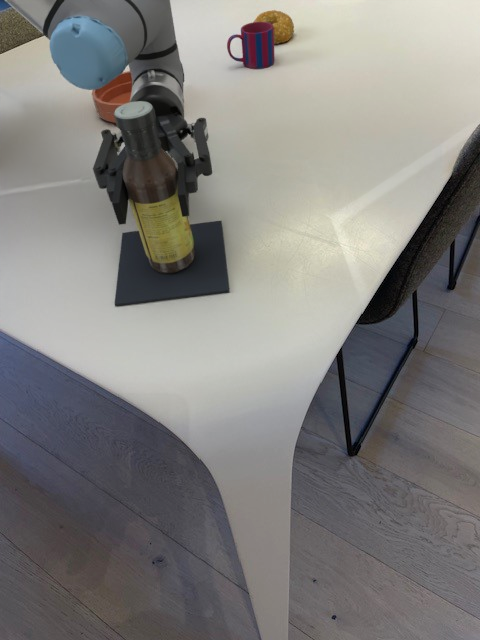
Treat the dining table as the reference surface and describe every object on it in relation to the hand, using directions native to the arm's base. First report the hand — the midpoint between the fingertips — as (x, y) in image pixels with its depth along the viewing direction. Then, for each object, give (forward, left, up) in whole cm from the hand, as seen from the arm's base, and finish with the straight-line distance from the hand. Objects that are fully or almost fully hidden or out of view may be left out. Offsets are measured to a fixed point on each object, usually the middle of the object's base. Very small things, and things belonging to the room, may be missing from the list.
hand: (151, 209), depth 52 cm
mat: (0, +5, -12) cm, 13 cm away
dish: (-7, +52, -12) cm, 54 cm away
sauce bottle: (0, +5, -12) cm, 13 cm away
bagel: (+23, +79, -12) cm, 83 cm away
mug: (+17, +66, -12) cm, 69 cm away
